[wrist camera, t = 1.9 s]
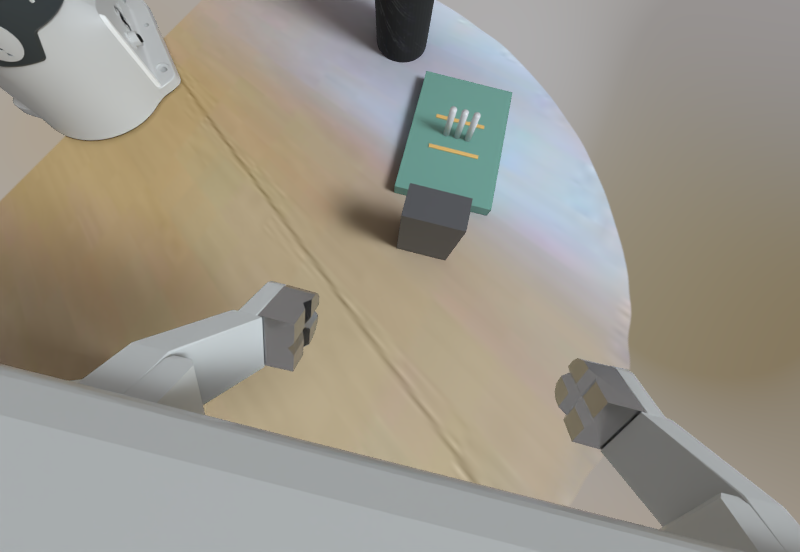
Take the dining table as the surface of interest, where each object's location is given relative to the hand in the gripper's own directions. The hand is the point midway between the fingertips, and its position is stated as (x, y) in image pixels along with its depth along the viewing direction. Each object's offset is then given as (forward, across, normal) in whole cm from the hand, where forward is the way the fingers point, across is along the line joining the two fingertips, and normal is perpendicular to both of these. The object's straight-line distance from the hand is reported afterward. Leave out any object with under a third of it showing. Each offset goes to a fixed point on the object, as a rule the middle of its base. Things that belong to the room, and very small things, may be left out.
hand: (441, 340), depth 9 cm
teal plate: (+36, -1, -2) cm, 36 cm away
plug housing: (+26, 0, +8) cm, 27 cm away
